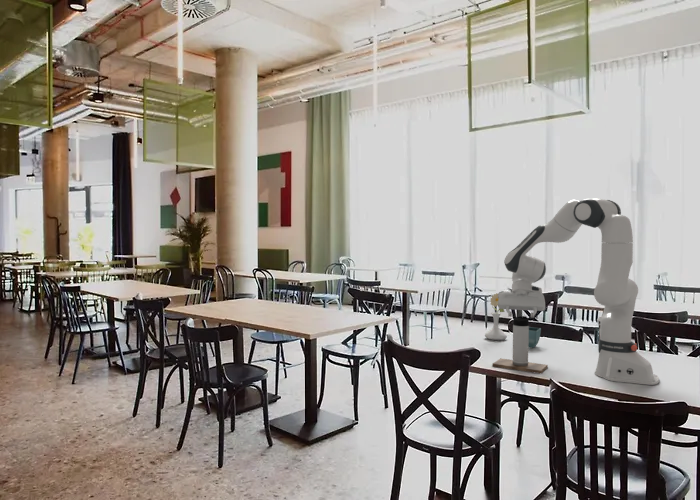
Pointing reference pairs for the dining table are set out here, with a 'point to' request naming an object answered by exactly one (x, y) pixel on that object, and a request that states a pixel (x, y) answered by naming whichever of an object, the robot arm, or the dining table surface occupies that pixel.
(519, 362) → the travel mug
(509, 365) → the walnut board
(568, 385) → the dining table surface
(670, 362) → the dining table surface
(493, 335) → the flower in vase
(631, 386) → the dining table surface
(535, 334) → the flower pot
